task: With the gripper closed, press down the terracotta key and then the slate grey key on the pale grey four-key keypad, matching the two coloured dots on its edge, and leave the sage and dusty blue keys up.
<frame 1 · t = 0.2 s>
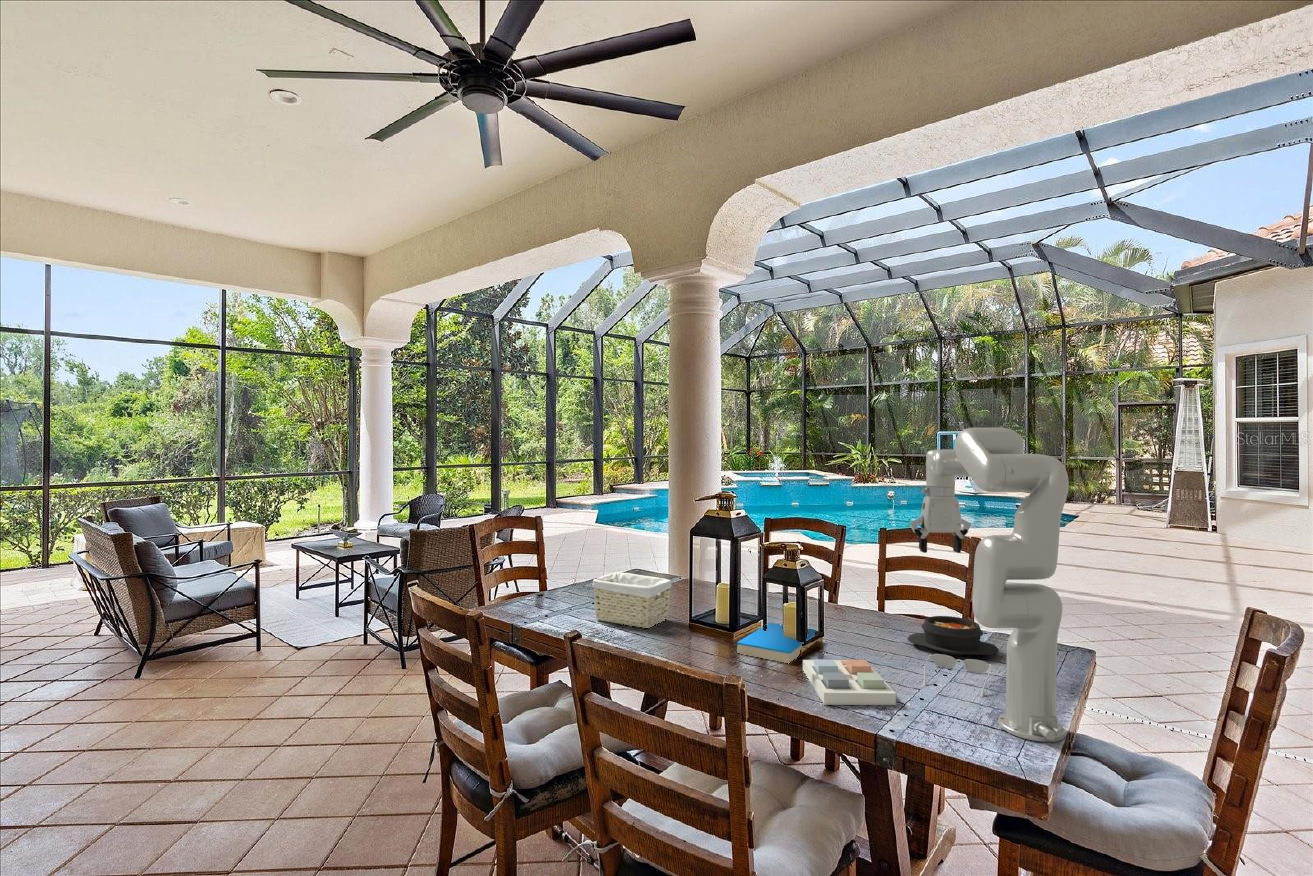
hand: (940, 552, 185), 31 cm above the table, tool pointing down, fingers open, 9 cm apart
book: (778, 649, 195), on the table
storage basket: (632, 621, 224), on the table
key slate: (835, 681, 158), point 4 cm above the table, slide at 0.0 cm
casserole: (951, 650, 194), on the table
key sage: (870, 681, 158), point 4 cm above the table, slide at 0.0 cm
keypad: (846, 687, 164), on the table
key terracotta: (858, 667, 167), point 4 cm above the table, slide at 0.0 cm
key blue: (825, 667, 167), point 4 cm above the table, slide at 0.0 cm
eyeglasses: (956, 682, 169), on the table
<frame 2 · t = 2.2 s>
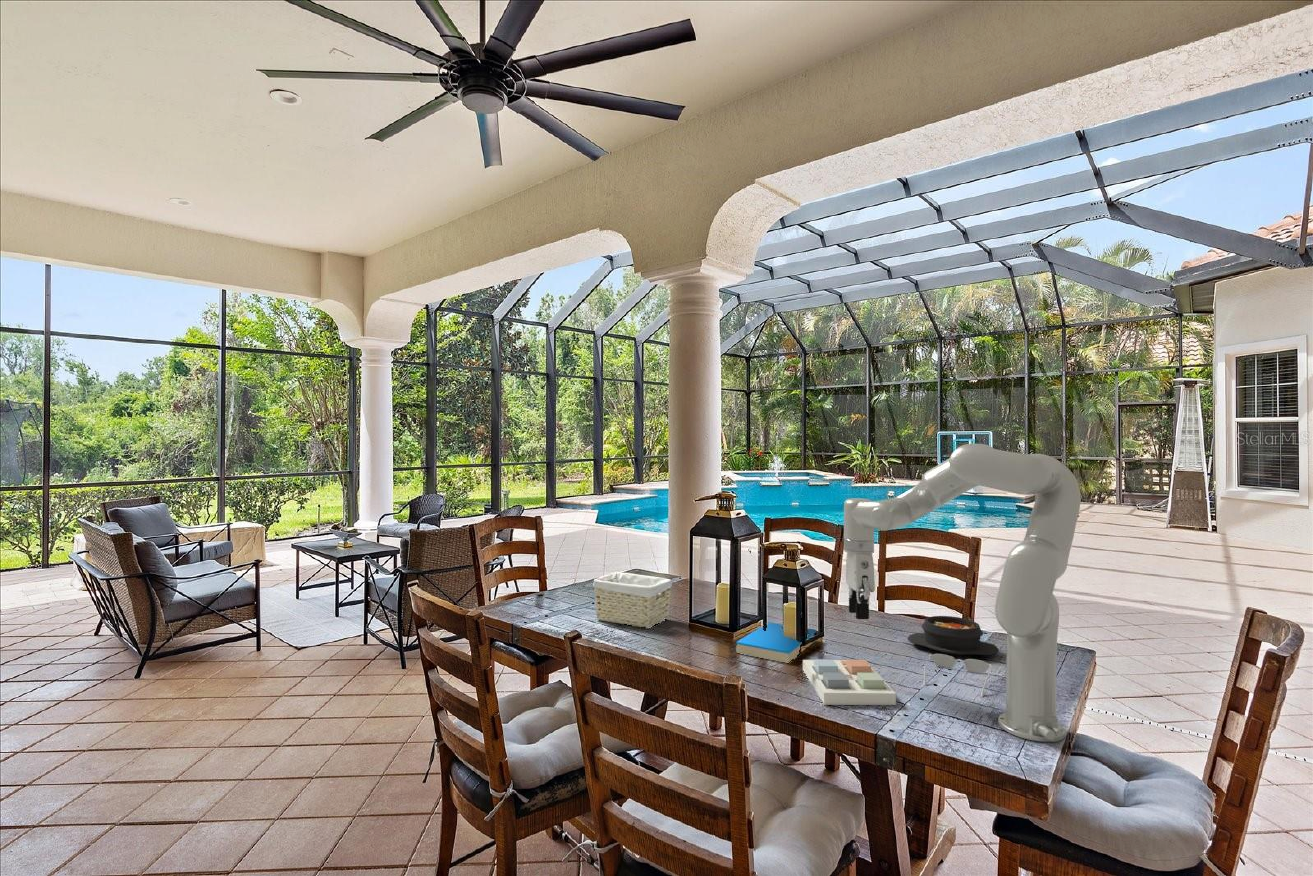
hand: (858, 615, 167), 17 cm above the table, tool pointing down, fingers open, 5 cm apart
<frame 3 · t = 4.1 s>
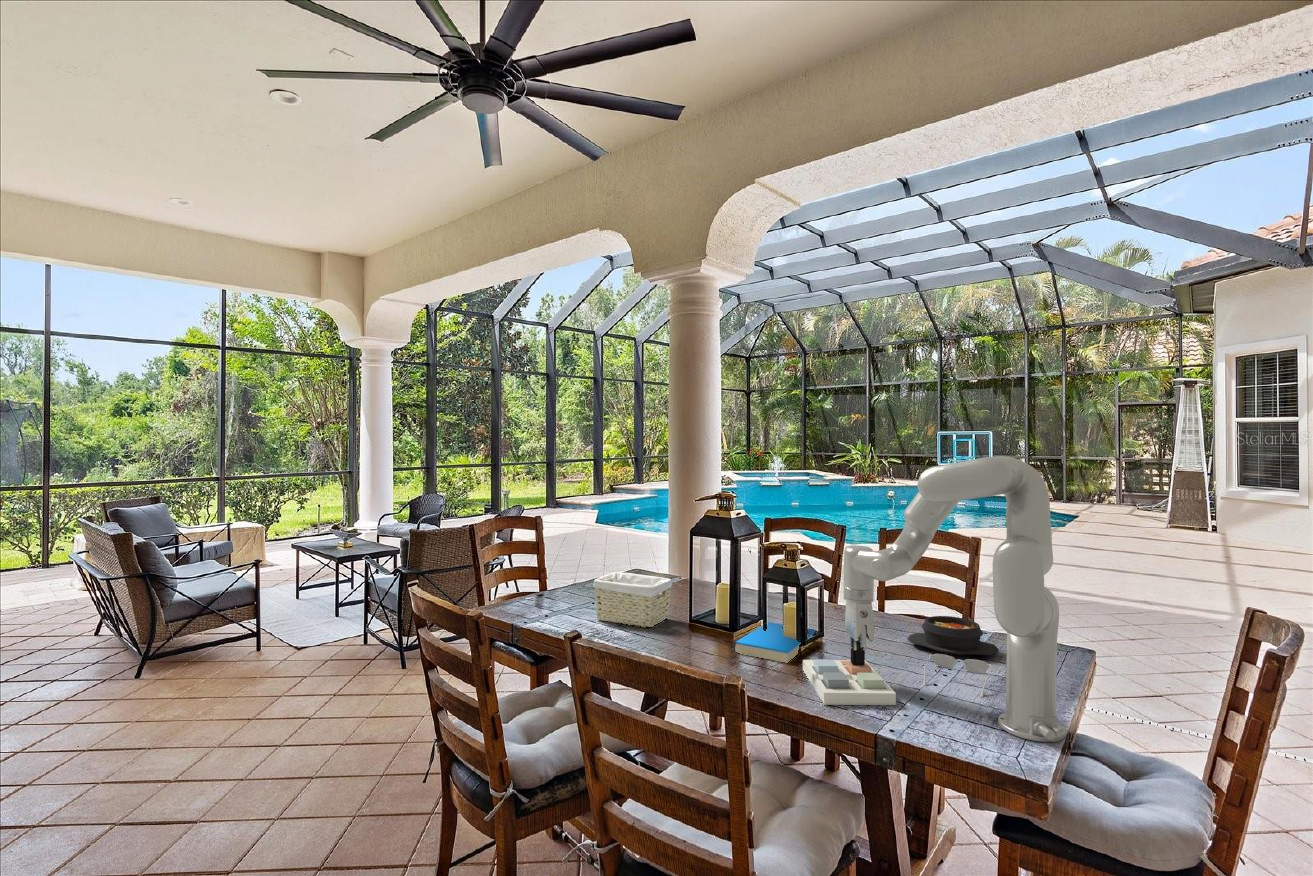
hand: (857, 664, 167), 5 cm above the table, tool pointing down, fingers closed
key terracotta: (858, 669, 167), point 3 cm above the table, slide at 0.4 cm, touching gripper
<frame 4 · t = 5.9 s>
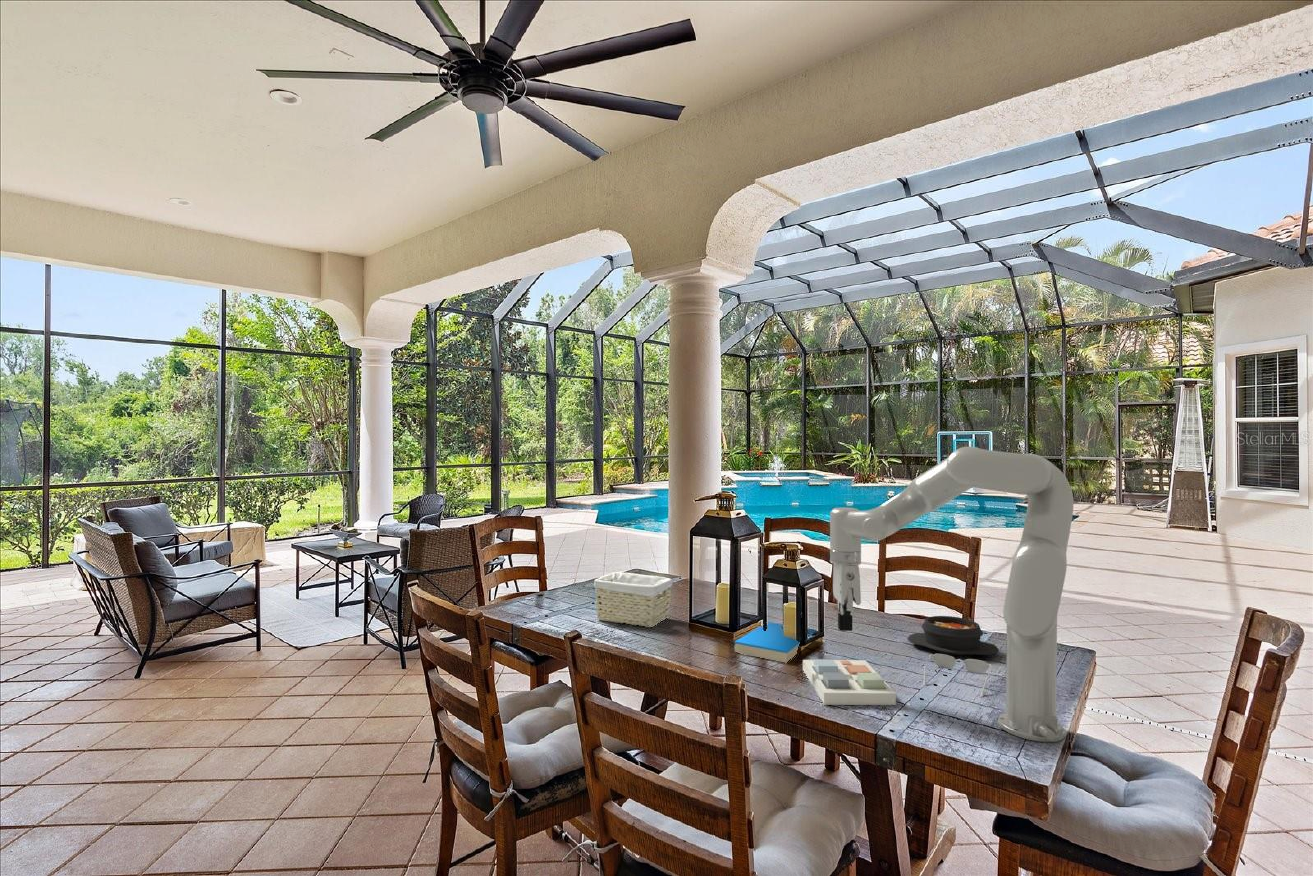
hand: (845, 629, 162), 15 cm above the table, tool pointing down, fingers closed
key terracotta: (858, 673, 167), point 2 cm above the table, slide at 1.4 cm
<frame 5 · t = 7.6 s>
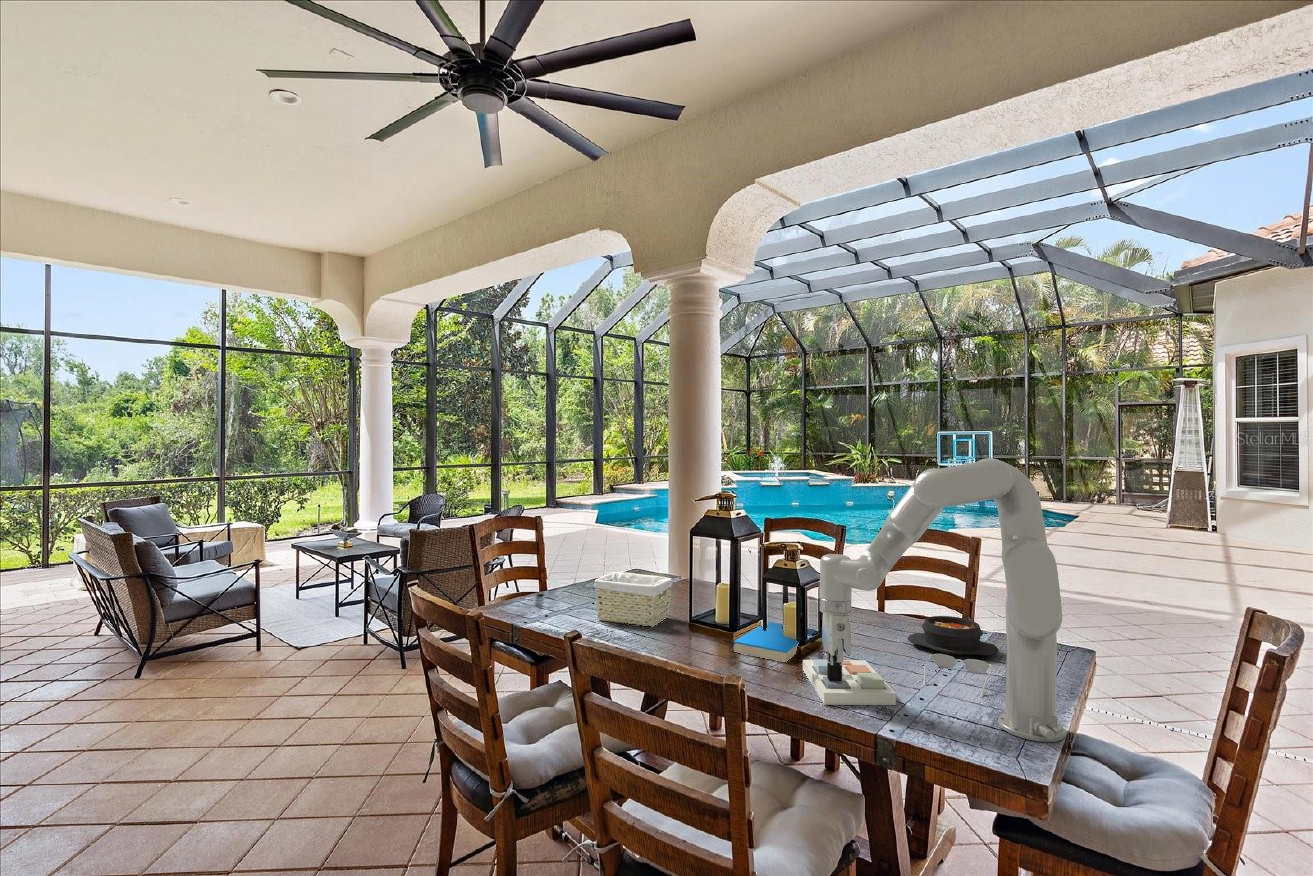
hand: (834, 680, 158), 4 cm above the table, tool pointing down, fingers closed
key slate: (835, 685, 158), point 3 cm above the table, slide at 1.1 cm, touching gripper
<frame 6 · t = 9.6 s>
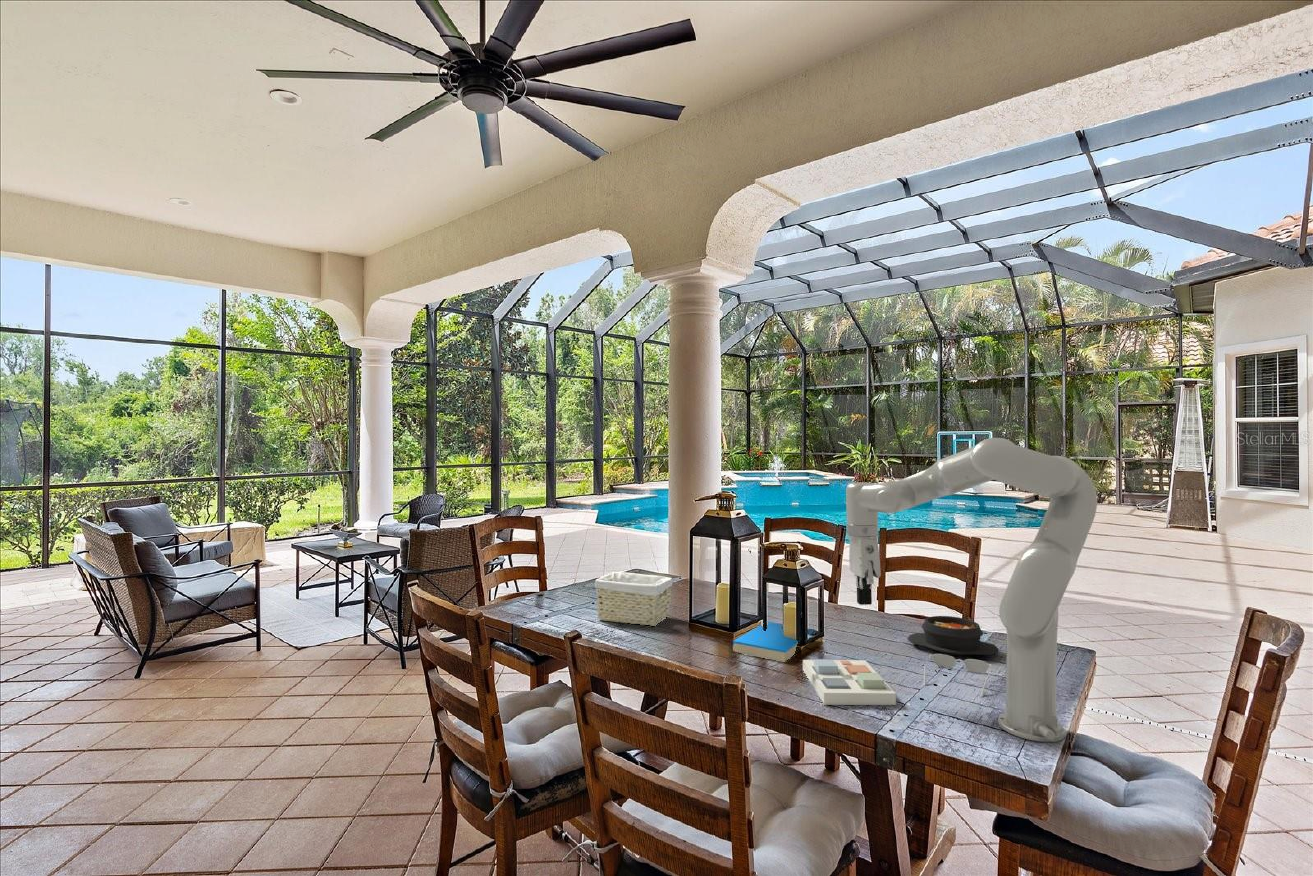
hand: (864, 603, 163), 22 cm above the table, tool pointing down, fingers closed
key slate: (835, 686, 158), point 2 cm above the table, slide at 1.4 cm
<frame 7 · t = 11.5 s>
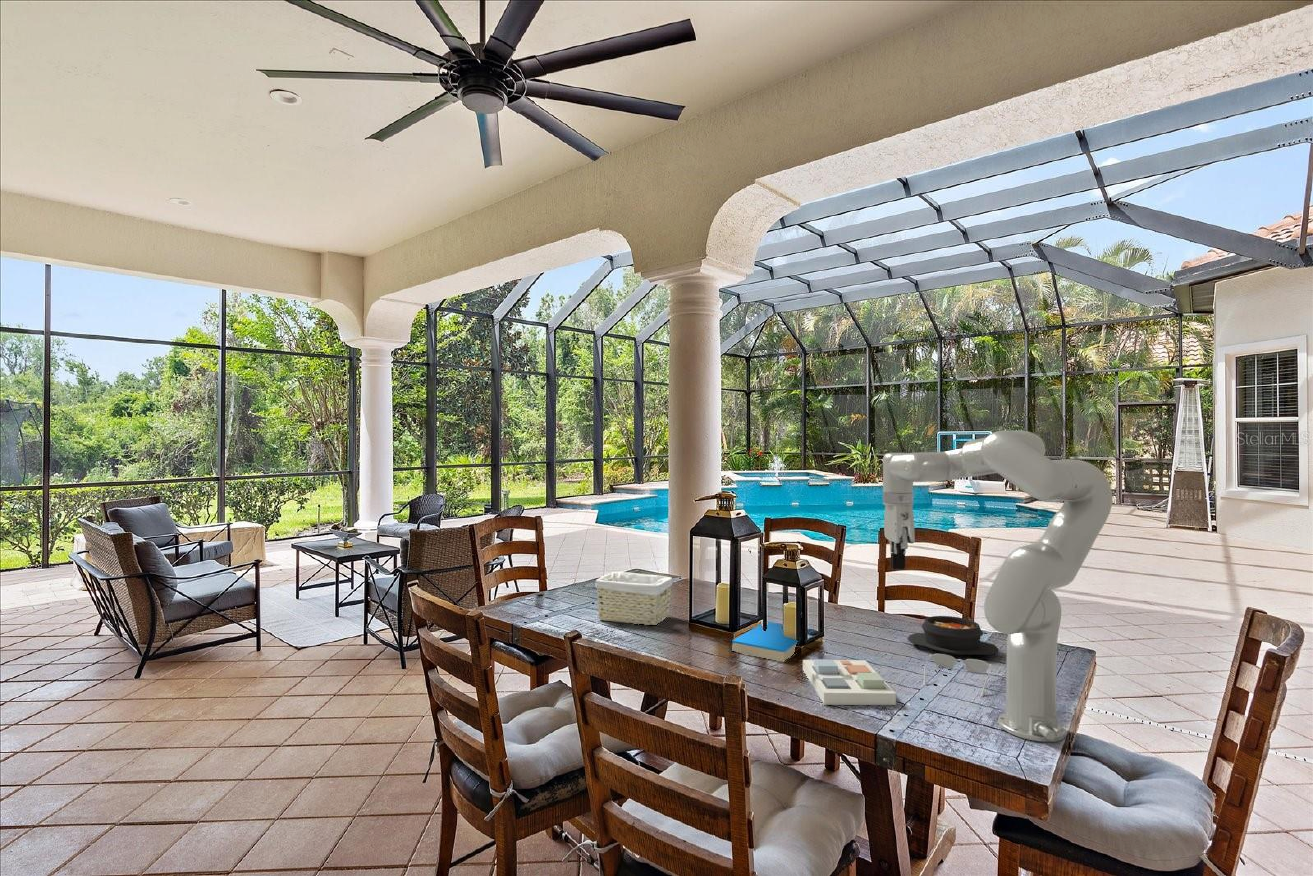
hand: (897, 568, 170), 29 cm above the table, tool pointing down, fingers closed
at the end: key terracotta slide at 1.4 cm; key slate slide at 1.4 cm; key sage slide at 0.0 cm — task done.
